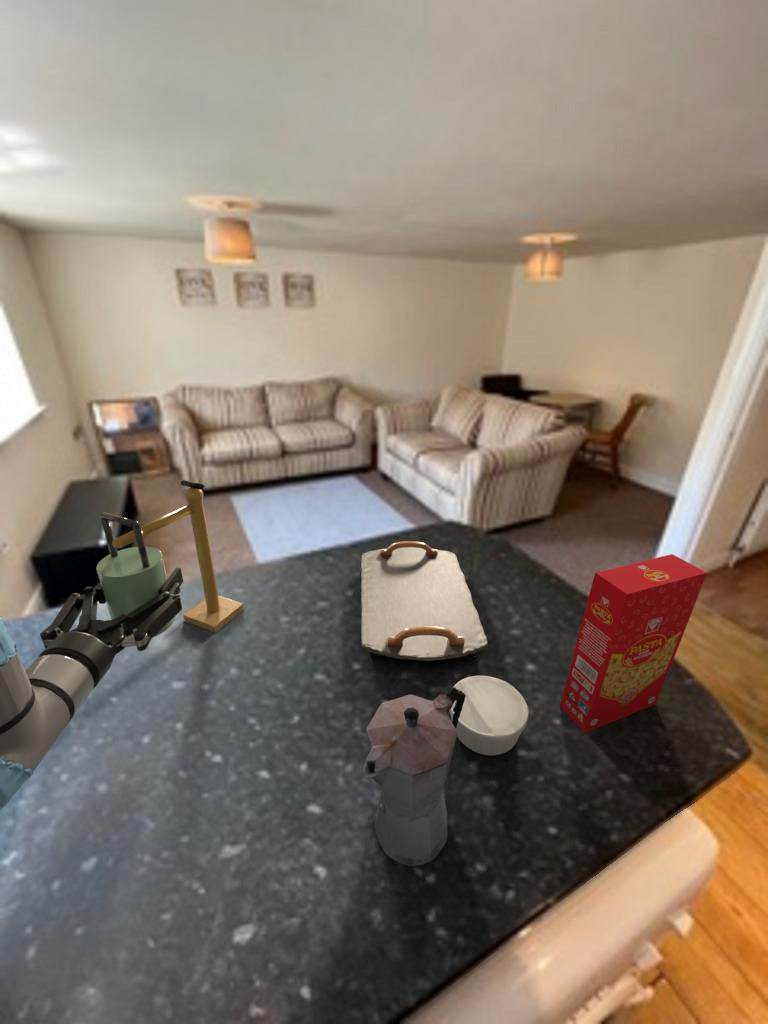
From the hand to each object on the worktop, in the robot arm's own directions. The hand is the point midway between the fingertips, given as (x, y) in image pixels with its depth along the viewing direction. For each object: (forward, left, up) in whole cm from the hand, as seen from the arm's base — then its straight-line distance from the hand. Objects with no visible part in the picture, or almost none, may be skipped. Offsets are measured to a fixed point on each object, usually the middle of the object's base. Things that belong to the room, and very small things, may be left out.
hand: (150, 574), depth 75 cm
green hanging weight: (+2, -4, -7) cm, 8 cm away
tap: (+2, +4, -15) cm, 16 cm away
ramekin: (+57, +7, -15) cm, 59 cm away
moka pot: (+52, -10, -15) cm, 55 cm away
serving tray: (+37, +32, -15) cm, 51 cm away
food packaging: (+74, +20, -15) cm, 78 cm away
